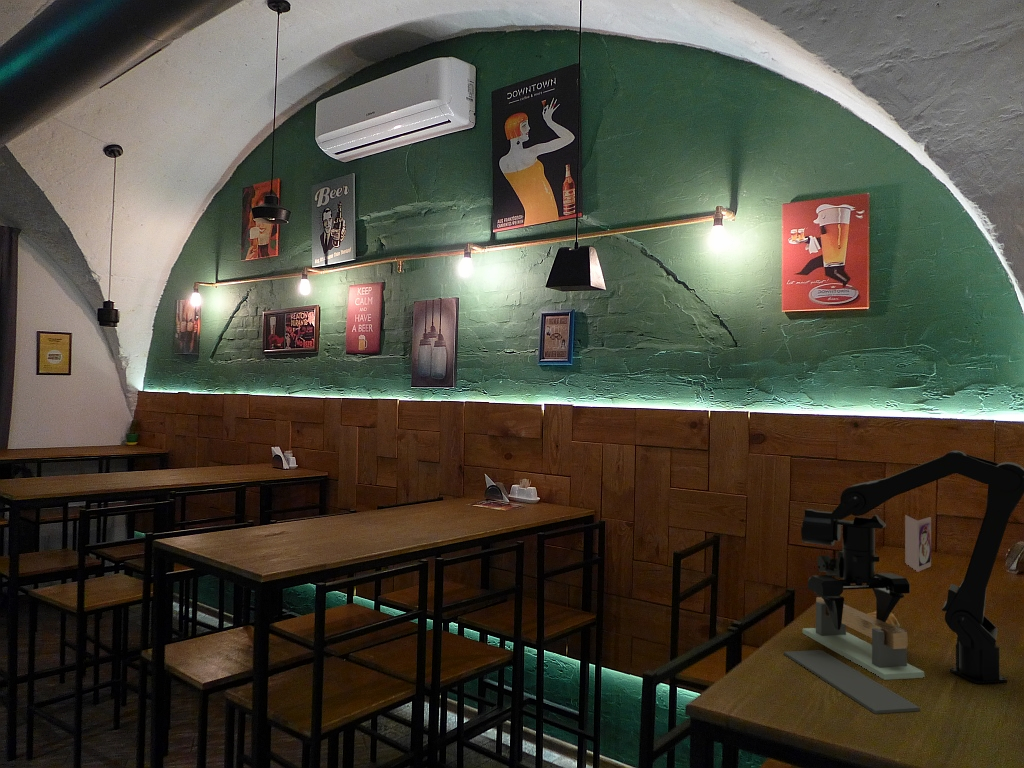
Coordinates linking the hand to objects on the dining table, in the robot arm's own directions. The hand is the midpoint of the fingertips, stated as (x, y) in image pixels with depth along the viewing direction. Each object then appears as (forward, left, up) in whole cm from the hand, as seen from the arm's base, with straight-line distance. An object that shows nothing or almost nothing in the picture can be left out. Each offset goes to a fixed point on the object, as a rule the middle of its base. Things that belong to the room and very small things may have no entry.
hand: (858, 628), depth 142 cm
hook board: (0, 0, -5) cm, 5 cm away
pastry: (+14, -14, -5) cm, 20 cm away
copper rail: (0, 0, 0) cm, 0 cm away
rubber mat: (-12, +11, -5) cm, 17 cm away
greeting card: (+66, -65, -5) cm, 93 cm away
